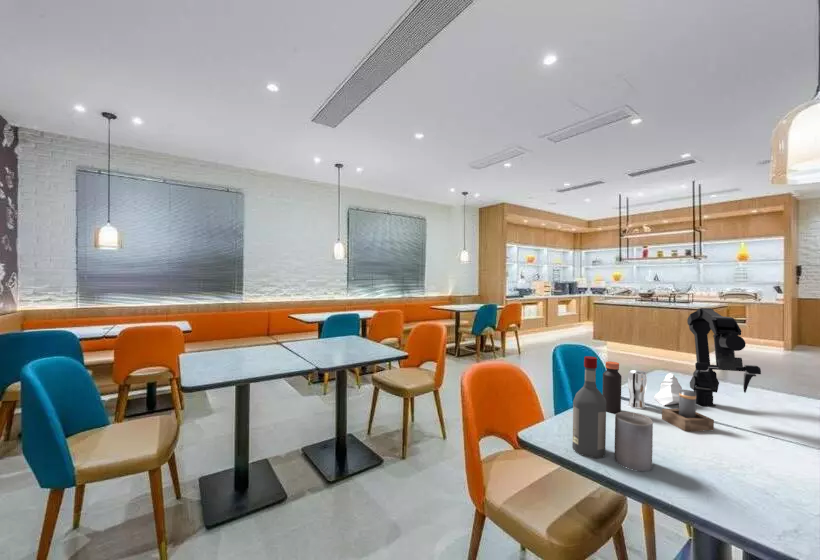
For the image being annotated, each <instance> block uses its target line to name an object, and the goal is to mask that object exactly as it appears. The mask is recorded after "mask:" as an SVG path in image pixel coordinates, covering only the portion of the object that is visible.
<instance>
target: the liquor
mask: <svg viewBox="0 0 820 560" xmlns="http://www.w3.org/2000/svg"><path fill="white" fill-rule="evenodd" d="M583 359H584V360H583V367H584V383H583V386H582V387H581V388H580V389H579V390H578V391H576V393H575V396H574V398H573V401H572V443H571V444H572V449H573V451H574V450H575V451H576V453H577V452H578V453H579V454H578V453H577V454H578V455H580V454H583V455H582V456H585V455H586V456H585V457H588V458H589V457H590V458H593V459H601V458H602V459H603V458H604V457H605V456H606V445H607V444H606V440H607V439H606V435H607V434H606V433H607V411H606V399H605V397H604V396H603V393H602V392H601V391H600V390H599V389H598V387H597V384H596V383H597V382H596V378H597V376H596V375H597V374H596V373H597V372H596V371H597V368H598V358H597V357H595V356H591V355H588V356H587V355H586V356H584V358H583ZM575 451H574V452H575Z"/></svg>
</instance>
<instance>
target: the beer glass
mask: <svg viewBox="0 0 820 560" xmlns="http://www.w3.org/2000/svg"><path fill="white" fill-rule="evenodd" d="M627 385H628V387H627V388H628V392H629V401H628V406H629V407H630V406H631V408H633V409H637V410H638V409H639V410H643V409H644V410H645V409H646V404H645V397H646V396H645V395H646V392H647V388H648V375H647V372H646V371H643V370H638V369H628V375H627Z"/></svg>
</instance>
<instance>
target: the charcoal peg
mask: <svg viewBox="0 0 820 560" xmlns="http://www.w3.org/2000/svg"><path fill="white" fill-rule="evenodd" d="M696 408H697V404H696V392H694V390H688V389H682V390H679V404H678V409H679V415H681V416H683V417H685V418H695V416H696V412H697V409H696Z"/></svg>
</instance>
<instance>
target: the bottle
mask: <svg viewBox="0 0 820 560" xmlns="http://www.w3.org/2000/svg"><path fill="white" fill-rule="evenodd" d="M605 369H606V370H605V371H604V372H603V373H602V395H603V396H604V397H605V399H606V413H609V414H610V413H612V414H616V413H619V412H622V379H623V378H622V374H620V372H619V370H620V363H619V362H616V361H605Z"/></svg>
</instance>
